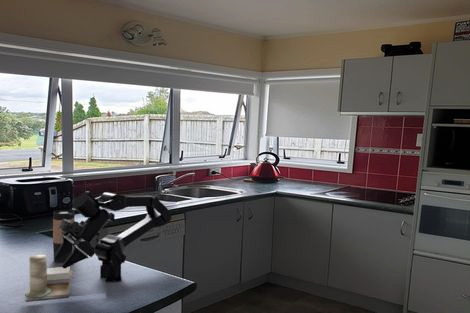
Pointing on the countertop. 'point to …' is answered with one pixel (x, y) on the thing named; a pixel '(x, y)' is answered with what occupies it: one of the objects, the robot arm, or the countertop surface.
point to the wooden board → (52, 291)
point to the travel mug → (60, 231)
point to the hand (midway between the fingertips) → (59, 263)
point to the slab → (58, 275)
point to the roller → (38, 274)
